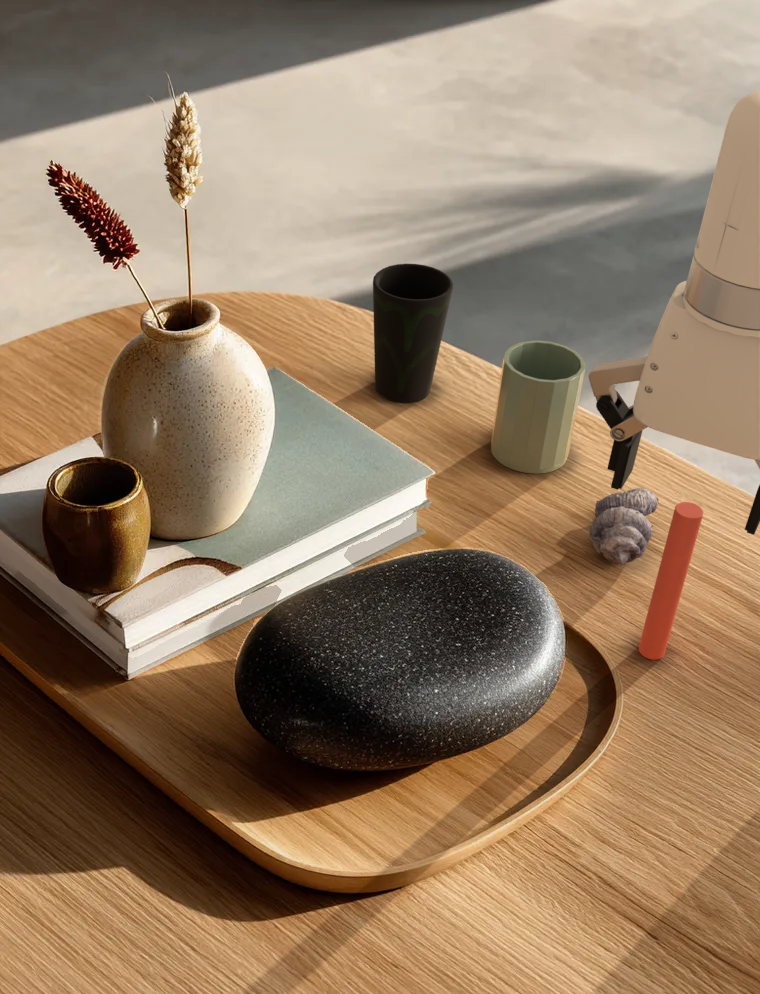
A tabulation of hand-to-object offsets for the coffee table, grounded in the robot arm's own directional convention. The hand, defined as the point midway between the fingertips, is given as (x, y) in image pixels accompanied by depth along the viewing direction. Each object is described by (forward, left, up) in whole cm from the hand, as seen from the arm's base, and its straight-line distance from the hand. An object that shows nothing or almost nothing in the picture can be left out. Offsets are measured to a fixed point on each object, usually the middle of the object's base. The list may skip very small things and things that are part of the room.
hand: (686, 501), depth 96 cm
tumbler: (+18, -21, -15) cm, 31 cm away
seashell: (+6, -12, -15) cm, 20 cm away
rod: (0, 0, -15) cm, 15 cm away
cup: (+33, -25, -15) cm, 44 cm away
